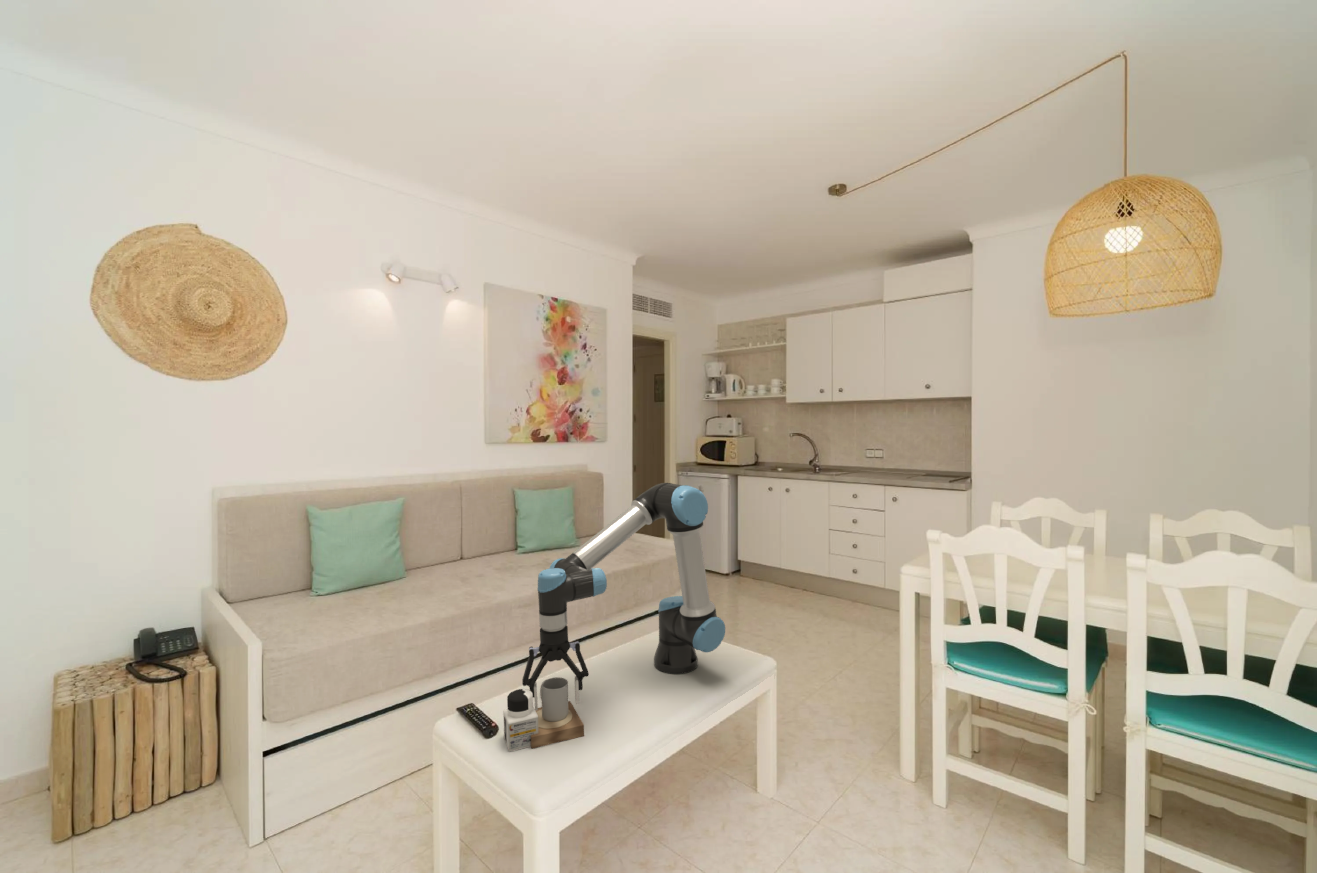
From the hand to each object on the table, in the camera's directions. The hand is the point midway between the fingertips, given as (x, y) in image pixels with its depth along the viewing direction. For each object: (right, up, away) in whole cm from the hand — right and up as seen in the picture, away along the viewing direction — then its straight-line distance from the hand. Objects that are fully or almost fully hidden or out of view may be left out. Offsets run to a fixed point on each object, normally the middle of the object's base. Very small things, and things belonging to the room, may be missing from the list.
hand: (556, 704), depth 153 cm
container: (-8, -7, -6) cm, 13 cm away
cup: (-2, -3, +1) cm, 4 cm away
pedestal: (-1, -6, -1) cm, 6 cm away
